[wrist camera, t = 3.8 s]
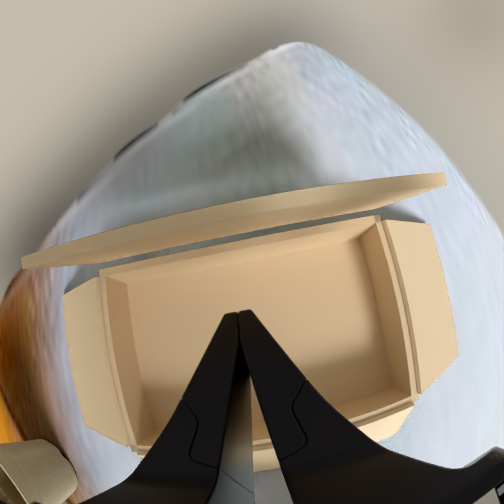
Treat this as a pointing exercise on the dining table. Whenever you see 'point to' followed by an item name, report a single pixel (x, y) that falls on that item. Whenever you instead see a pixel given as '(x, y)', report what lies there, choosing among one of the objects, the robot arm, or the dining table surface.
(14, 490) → the flower pot
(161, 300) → the carton
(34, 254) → the flap
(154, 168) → the dining table surface
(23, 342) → the dining table surface
